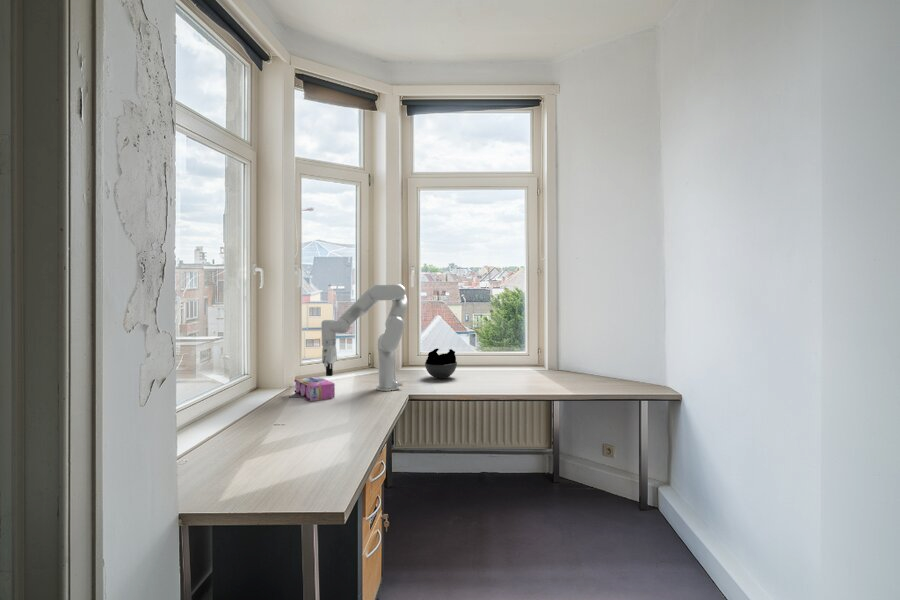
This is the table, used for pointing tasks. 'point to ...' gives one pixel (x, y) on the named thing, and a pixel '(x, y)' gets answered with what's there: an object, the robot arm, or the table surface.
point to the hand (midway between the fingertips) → (329, 375)
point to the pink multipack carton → (315, 388)
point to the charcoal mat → (295, 396)
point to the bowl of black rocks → (441, 364)
